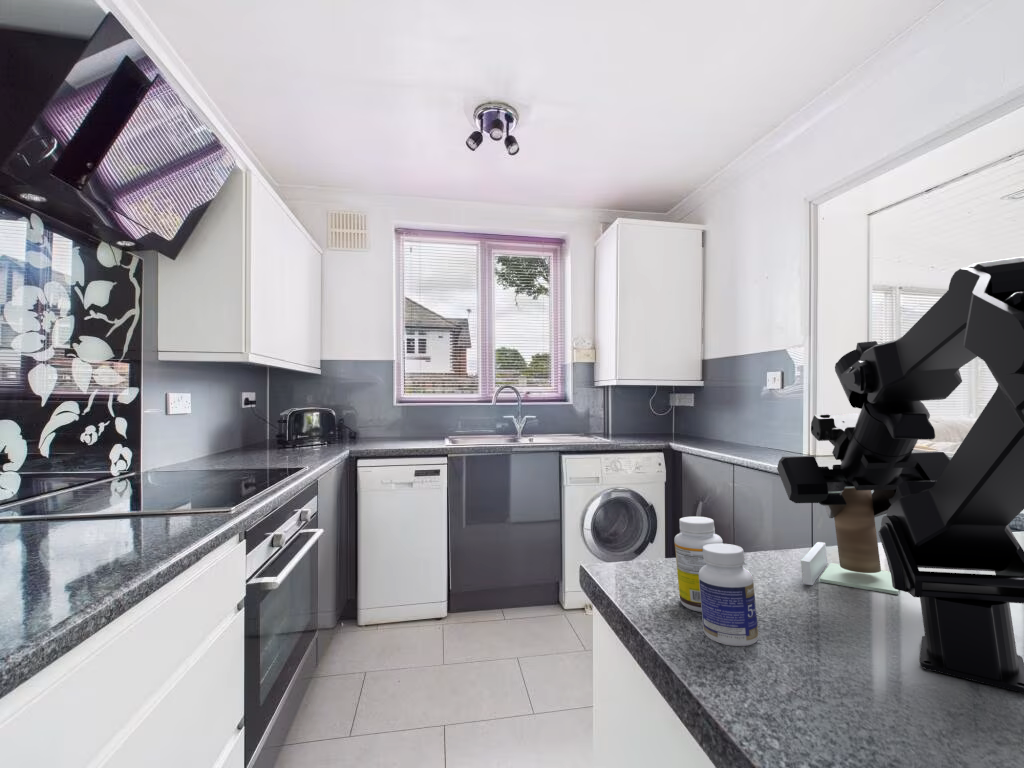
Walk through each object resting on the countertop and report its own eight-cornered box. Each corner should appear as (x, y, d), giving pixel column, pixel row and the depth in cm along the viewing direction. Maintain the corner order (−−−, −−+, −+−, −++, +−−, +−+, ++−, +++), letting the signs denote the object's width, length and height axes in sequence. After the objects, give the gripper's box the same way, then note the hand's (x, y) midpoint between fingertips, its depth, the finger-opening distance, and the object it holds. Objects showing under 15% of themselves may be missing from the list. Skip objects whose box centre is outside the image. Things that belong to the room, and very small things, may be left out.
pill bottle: (763, 650, 44) (754, 556, 45) (705, 644, 46) (697, 554, 47) (754, 626, 49) (745, 542, 50) (701, 622, 51) (694, 540, 52)
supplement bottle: (708, 594, 59) (701, 513, 60) (740, 610, 53) (731, 521, 54) (670, 600, 57) (663, 517, 58) (698, 618, 52) (690, 526, 53)
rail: (812, 585, 60) (809, 561, 60) (803, 583, 60) (800, 560, 60) (827, 563, 67) (825, 542, 68) (819, 562, 68) (817, 541, 68)
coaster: (898, 594, 55) (897, 591, 55) (819, 581, 61) (819, 578, 61) (902, 576, 61) (901, 573, 61) (830, 565, 66) (830, 563, 66)
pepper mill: (868, 575, 58) (855, 470, 59) (832, 566, 62) (821, 468, 63) (888, 569, 60) (875, 467, 61) (851, 560, 64) (840, 465, 65)
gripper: (938, 386, 57) (898, 467, 67) (773, 396, 61) (758, 471, 71) (998, 454, 49) (942, 535, 58) (803, 461, 53) (781, 535, 63)
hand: (849, 515), depth 63 cm, fingers closed on pepper mill, 4 cm apart
